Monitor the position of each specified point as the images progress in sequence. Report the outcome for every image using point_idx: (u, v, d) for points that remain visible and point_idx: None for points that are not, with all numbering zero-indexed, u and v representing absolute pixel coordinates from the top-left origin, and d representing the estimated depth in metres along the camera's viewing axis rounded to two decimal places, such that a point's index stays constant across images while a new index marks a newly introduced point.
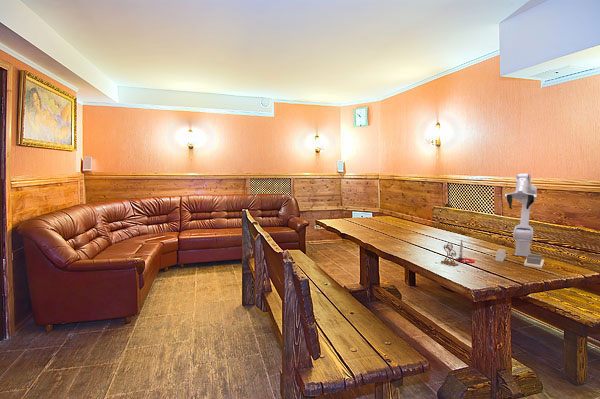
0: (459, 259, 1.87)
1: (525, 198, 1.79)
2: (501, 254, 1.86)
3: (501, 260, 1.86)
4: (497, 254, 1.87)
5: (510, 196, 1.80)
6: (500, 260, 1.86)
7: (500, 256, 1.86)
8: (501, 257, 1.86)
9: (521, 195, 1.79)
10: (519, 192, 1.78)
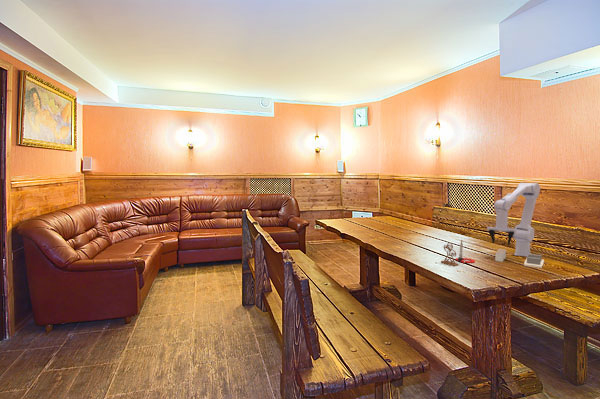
0: (459, 259, 1.87)
1: None
2: (501, 254, 1.86)
3: (501, 260, 1.86)
4: (497, 254, 1.87)
5: (492, 233, 1.91)
6: (500, 260, 1.86)
7: (500, 256, 1.86)
8: (501, 257, 1.86)
9: None
10: (500, 230, 1.88)
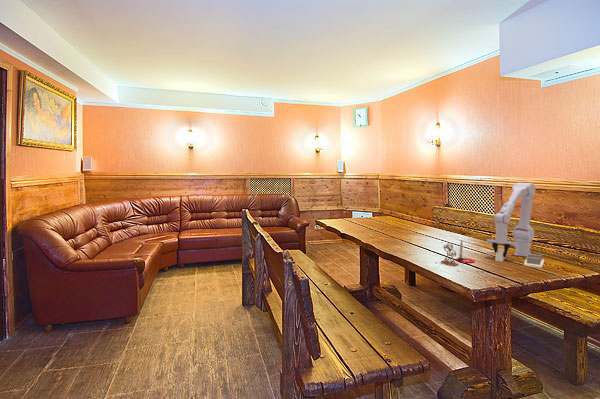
0: (459, 259, 1.87)
1: None
2: (501, 254, 1.86)
3: (501, 260, 1.86)
4: (497, 254, 1.87)
5: (495, 246, 1.90)
6: (500, 260, 1.86)
7: (500, 256, 1.86)
8: (501, 257, 1.86)
9: None
10: (499, 243, 1.88)
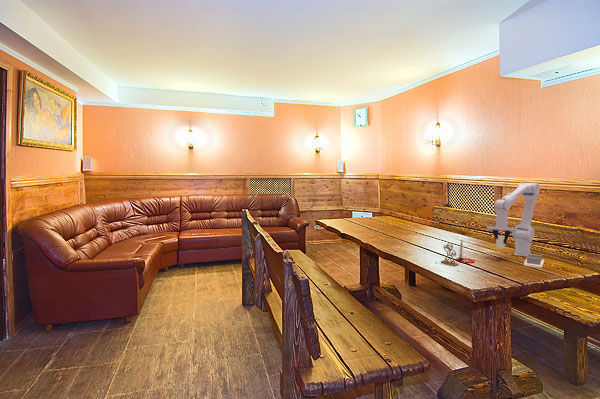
0: (459, 259, 1.87)
1: None
2: (501, 240, 1.85)
3: (501, 246, 1.85)
4: (497, 240, 1.86)
5: (495, 233, 1.90)
6: (500, 246, 1.86)
7: (500, 242, 1.85)
8: (501, 243, 1.85)
9: None
10: (500, 229, 1.88)
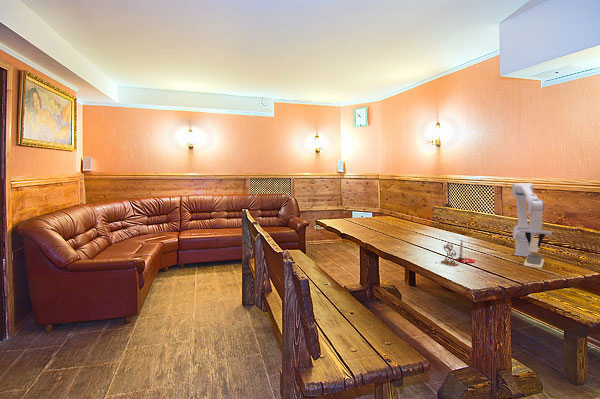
0: (459, 259, 1.87)
1: None
2: (536, 244, 1.75)
3: (536, 250, 1.75)
4: (531, 244, 1.76)
5: (529, 236, 1.80)
6: (535, 250, 1.75)
7: (535, 246, 1.75)
8: (536, 247, 1.75)
9: None
10: (533, 232, 1.78)
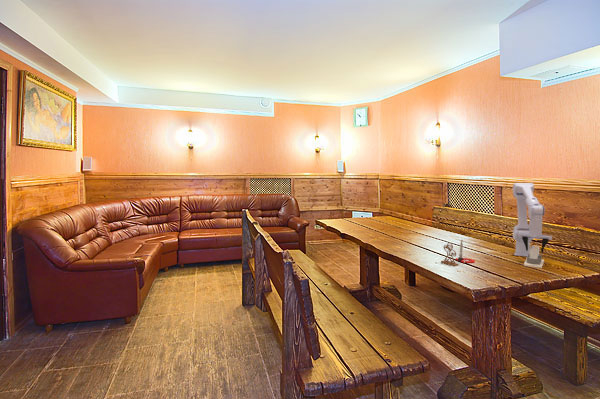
0: (459, 259, 1.87)
1: None
2: (536, 251, 1.75)
3: (536, 257, 1.75)
4: (531, 251, 1.76)
5: (526, 240, 1.81)
6: (535, 257, 1.76)
7: (535, 253, 1.76)
8: (536, 254, 1.75)
9: None
10: (534, 237, 1.78)
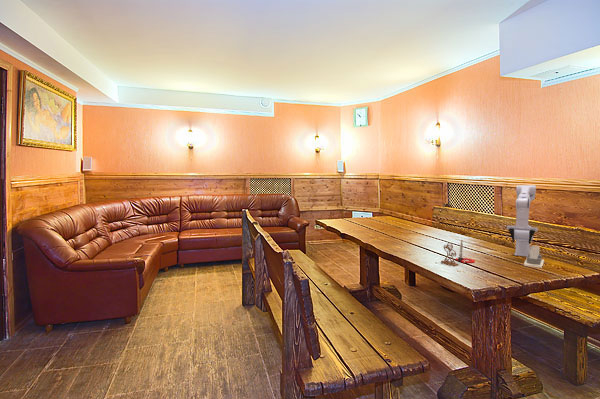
0: (459, 259, 1.87)
1: None
2: (536, 251, 1.75)
3: (536, 257, 1.75)
4: (531, 251, 1.76)
5: (512, 232, 1.87)
6: (535, 257, 1.76)
7: (535, 253, 1.76)
8: (536, 254, 1.75)
9: None
10: (520, 228, 1.84)
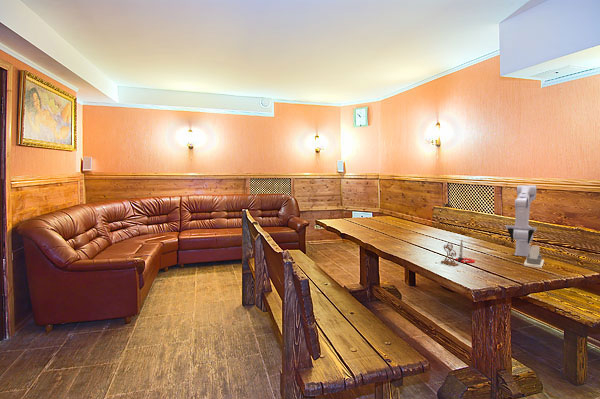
0: (459, 259, 1.87)
1: None
2: (536, 251, 1.75)
3: (536, 257, 1.75)
4: (531, 251, 1.76)
5: (511, 232, 1.88)
6: (535, 257, 1.76)
7: (535, 253, 1.76)
8: (536, 254, 1.75)
9: None
10: (519, 228, 1.85)
